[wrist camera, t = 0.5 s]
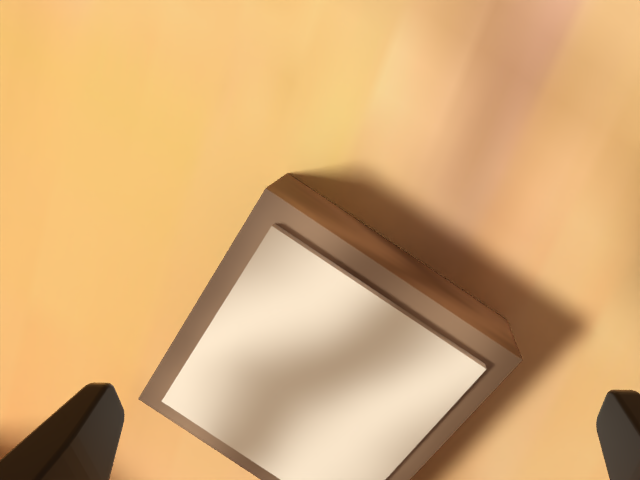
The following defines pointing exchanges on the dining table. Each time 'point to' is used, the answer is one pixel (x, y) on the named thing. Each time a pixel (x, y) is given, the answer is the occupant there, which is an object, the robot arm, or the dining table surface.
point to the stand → (328, 350)
